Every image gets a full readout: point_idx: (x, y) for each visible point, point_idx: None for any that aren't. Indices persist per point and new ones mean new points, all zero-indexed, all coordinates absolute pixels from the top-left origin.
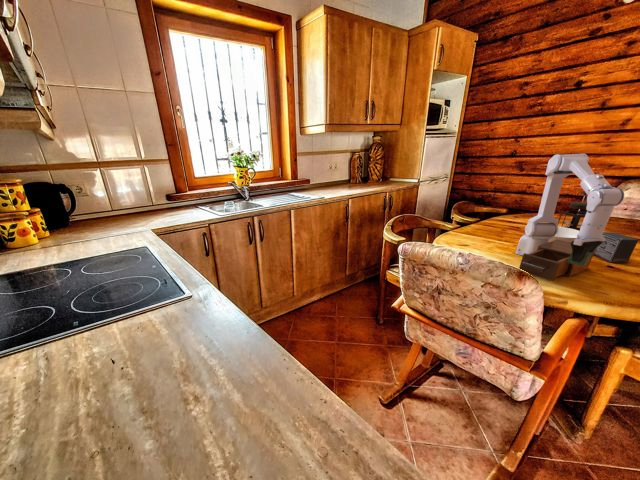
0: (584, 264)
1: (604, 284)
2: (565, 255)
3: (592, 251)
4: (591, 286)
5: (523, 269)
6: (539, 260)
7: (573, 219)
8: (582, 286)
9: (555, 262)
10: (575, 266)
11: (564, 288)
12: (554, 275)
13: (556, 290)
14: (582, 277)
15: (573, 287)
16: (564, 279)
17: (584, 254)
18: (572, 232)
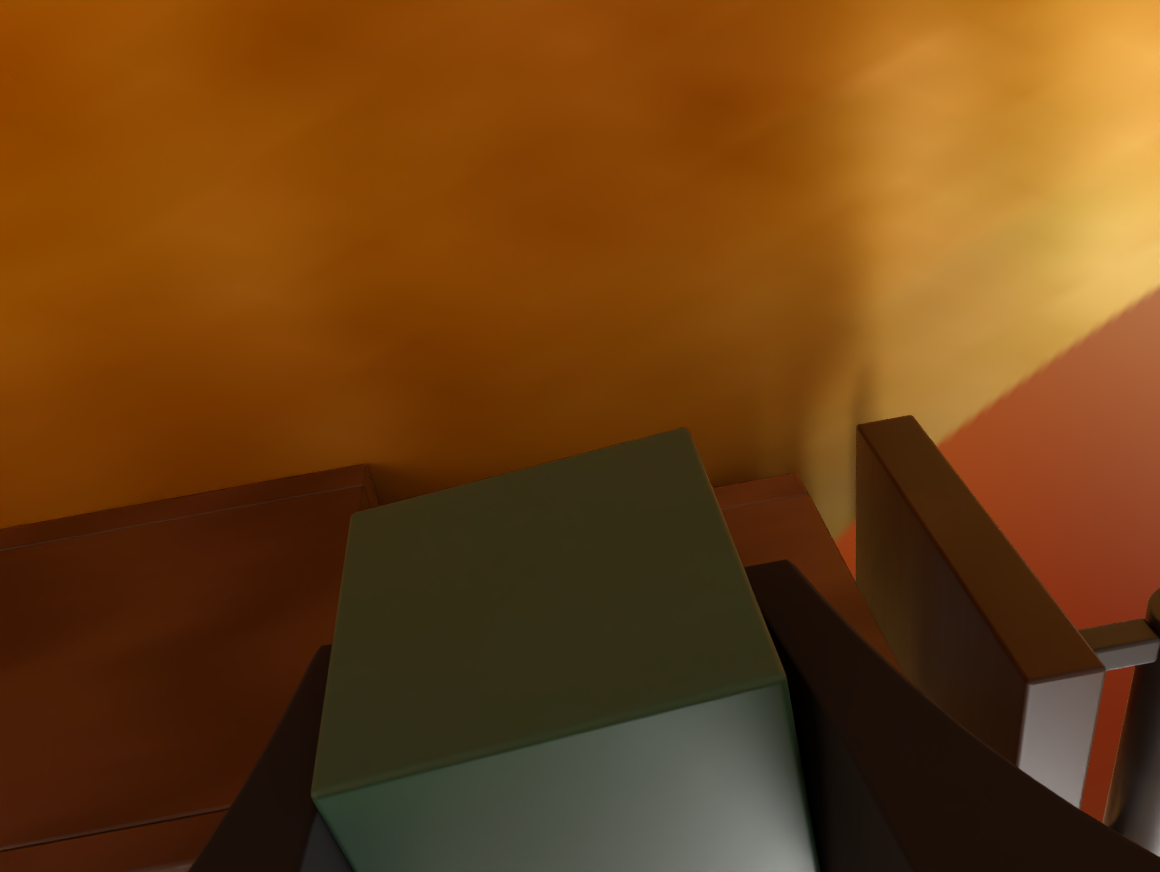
0: (667, 466)
1: (40, 32)
2: None
3: (285, 850)
4: (405, 70)
5: None
6: None
7: None
8: (567, 134)
9: (1092, 717)
10: (234, 608)
11: (940, 194)
12: (957, 478)
13: (1138, 190)
14: (150, 381)
15: (761, 165)
16: (545, 422)
17: (962, 736)
18: None
